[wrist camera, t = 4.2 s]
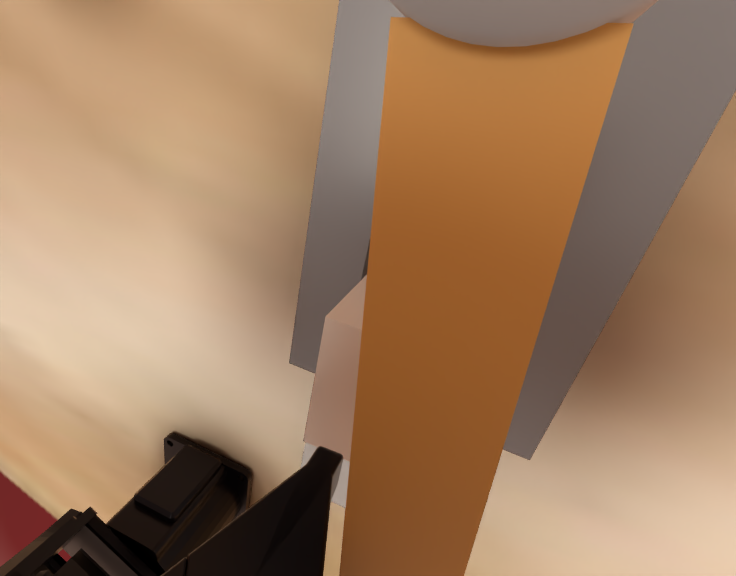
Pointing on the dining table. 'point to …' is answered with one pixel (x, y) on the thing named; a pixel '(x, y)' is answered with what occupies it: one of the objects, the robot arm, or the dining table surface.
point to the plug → (337, 375)
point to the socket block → (597, 201)
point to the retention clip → (465, 255)
